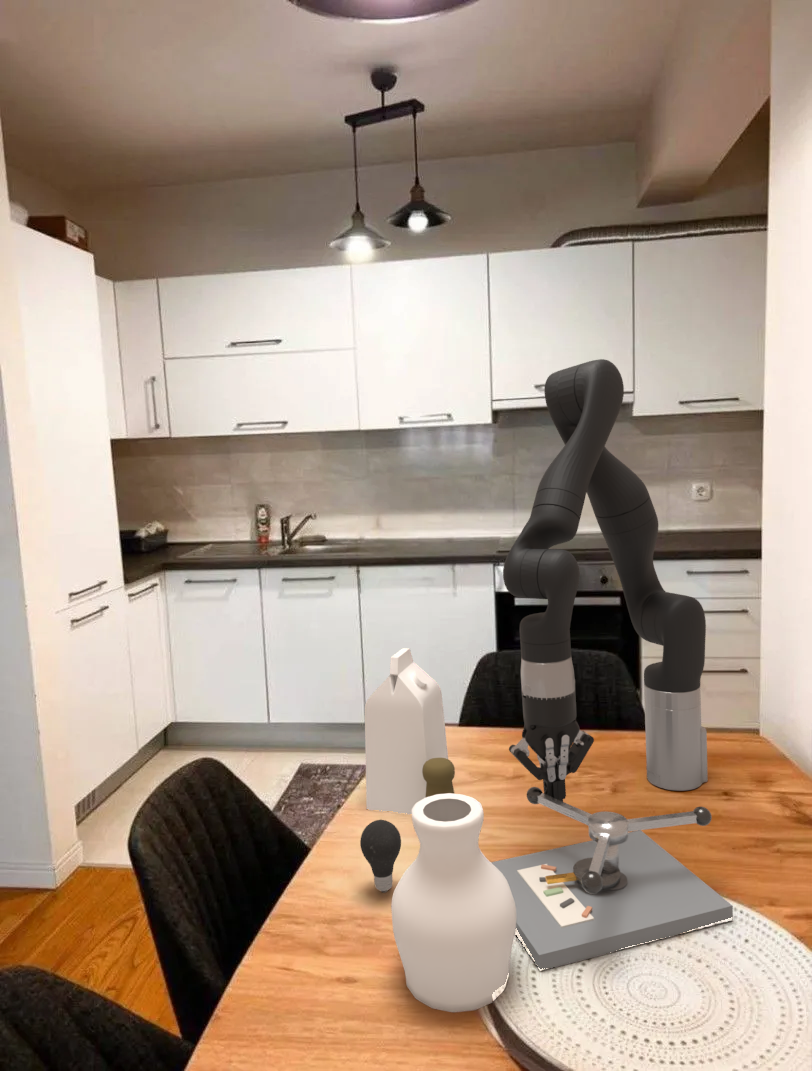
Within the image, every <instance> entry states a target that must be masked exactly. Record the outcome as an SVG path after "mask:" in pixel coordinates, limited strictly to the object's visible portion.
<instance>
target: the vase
mask: <svg viewBox="0 0 812 1071" xmlns="http://www.w3.org/2000/svg"><path fill="white" fill-rule="evenodd" d="M411 821H412V826H413V829H414V832H415V834H416V836H417V838H418V841H419V850H418V855H417V856H416V858H415V860H413V861H412V863H411V864H410V865H408V867H407V869H405V871H404V872H403V874H402V875H401V878H400V879H399V881H398V883H397V884H396V887H395V888H394V890H393V894H392V897H391V922H392V923H391V924H392V932H393V938H394V941H395V944H396V947H397V951H398V953H399V957H400V961H401V964H402V967H403V970H404V976H405V983H406V988H407V989H409V991H410V993H411V994H412V995H413V997H414V999H415V1000H418V1001H419V1002H420V1003H422V1004H424V1005H425V1006H427V1007H430V1008H431V1009H433V1010H439V1011H443V1012H449V1013H461V1012H471V1011H477V1010H478V1009H481V1008H483V1007H485V1006H488V1005H489V1004H493V1002H492V994H493V992H495V990H497V989H498V988H499V987H501V986H502V985H504V984H505V982H506V979H507V975H508V973H509V974H510V964H511V963H510V962H511V956H512V955H511V954H512V949H513V944H514V940H515V936H516V935H515V929H516V919H517V917H516V906H515V902H514V899H513V896H512V893H511V890H510V887H509V885H508V882H507V880H506V878H505V877H504V875H503V874H502V873H501V872H500V871H499V870H498V869H497V868H496V867H495V866H494V865H493V864H492V863H491V862H492V861H490V860H489V859H488V858H487V857H486V856H485V854H484V853H483V852H482V850H481V848H480V847H479V846H480V845H479V837H480V834H481V830H482V827H483V823H484V809H483V806H482V803H481V802H480V801H478V800H477V799H476V798H474V797H472V796H468V795H466V794H462V793H461V794H460V793H454V794H452V793H447V794H436V795H433V796H430V797H426V798H424V799H422V800H420V801H419V802H417V803H416V804H415V805H414V807H413V808H412V815H411Z"/></svg>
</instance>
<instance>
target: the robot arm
mask: <svg viewBox="0 0 812 1071" xmlns="http://www.w3.org/2000/svg"><path fill="white" fill-rule="evenodd" d="M622 377H623V376H622V374H621V372H620V371H619V369H618V367H617V365H615V364H614V363H613V362H612V361H610V360H608V359H604V358H603V359H602V358H600V359H595V360H593V359H592V360H590V361H586V362H581V363H580V364H576V365H573V366H570V367H566V368H563V369H560V370H557V371H555V372H552V373H551V374H549V376H548V377H547V379H546V381H545V383H544V389H543V390H544V399H545V400H544V401H545V404H546V407H547V410H548V413H549V415H550V418H551V420H552V422H553V424H554V427H555V429H556V430H557V433H558V434H559V436H560V438H561V440H562V443H564V446H563V448H561V450H560V451H559V452H558V454H557V455H556V456H555V458H554V459H553V460H552V461H551V462H550V464H549V465H548V467H547V469H546V470H545V472H544V473H543V475H542V478H541V479H540V481H539V484H538V486H537V490H536V494H535V497H534V501H533V505H532V509H531V513H530V516H529V519H528V520H527V522H526V524H524V526H523V529H522V530H521V532H520V533H519V535H518V537H517V538H516V539H515V541H514V543H513V545H512V546H511V548H510V550H509V552H508V553H507V555H506V559H505V560H504V565H503V569H502V579H503V584H504V586H505V588H506V590H507V592H508V593H509V594H511V595H513V597H515V598H516V597H517V598H519V599H521V598H522V599H533V600H536V599H538V600H547V606H546V610H545V611H544V612H538V613H532V614H529V615H526V616H524V617H523V618H522V619H521V621H520V622H519V640H520V642H519V644H520V655H521V657H520V658H521V662H520V683H521V685H520V686H521V700H522V715H523V722H524V726H523V729H522V731H521V737H522V738H521V739H520V740H519V741H518V742H517V743H516V744H510V746H509V747H508V750H509V752H510V754H512V755H513V756H514V758H515V759H517V761H518V762H519V763H520V764H521V765H522V766H523V767H524V768H525V769H526V770H527V772H529V773H530V774H531V775H533V777H535V779H537V781H542V784H543V793H544V794H546V795H548V796H551V797H553V798H555V799H558V800H560V801H562V802H564V800H565V799H566V797H567V790H566V788H567V787H566V778H567V776H568V775H569V774H575V773H576V772H577V771H578V769H579V767H580V766H581V765H582V762H583V761H584V760H585V757H586V756H587V754H588V752H589V750H590V749H591V747H592V745H593V744H594V742H595V738H594V737H593V736H592V735H591V734H589V733H587V732H586V731H584V730H581V729H580V725H579V723H578V721H577V717H578V716H577V702H576V700H577V699H576V698H577V697H576V679H575V670H574V665H573V660H572V659H573V658H572V649H571V648H572V647H571V633H570V632H571V629H570V628H571V622H572V616H573V609H574V604H575V599H576V596H577V592H578V587H579V583H580V578H581V577H580V572H581V571H580V566H579V563H578V561H577V560H576V558H575V556H574V555H573V554H572V553H571V552H570V551H568V550H565V549H561V548H560V549H557V548H555V549H554V548H552V547H555V546H557V545H561V544H564V543H568V542H570V541H571V540H573V539H574V538H575V537H576V536H577V535H576V534H577V532H578V529H579V525H580V522H581V521H580V520H581V516H582V513H583V508H584V504H585V500H586V496H587V497H588V500H589V502H590V506H591V508H592V511H593V514H594V516H595V519H596V521H597V522H596V523H597V524H598V526H599V527H598V528H599V529H600V531H601V534H602V536H603V539H604V540H605V543H606V546H607V548H608V551H609V553H610V556H611V559H612V561H613V563H614V567H615V570H616V572H617V576H618V578H619V580H620V584H621V587H622V591H623V596H624V599H625V602H626V608H627V611H628V613H629V618H630V620H631V623H632V626H633V629H634V630H635V632H636V633H637V635H638V636H639V637H640V638H641V639H643V640H645V641H647V642H648V643H652V644H655V645H659V646H663V647H662V659H661V661H658V662H654V663H650V664H649V665H647V666H646V667H645V668H644V670H643V688H644V690H643V691H644V692H643V693H644V694H643V697H644V720H645V721H644V723H645V724H644V725H645V755H646V756H645V757H646V779H647V780H648V782H649V783H650V784H652V785H653V786H655V787H657V788H661V789H665V790H669V791H678V792H680V791H682V792H683V791H691V790H695V789H697V788H699V787H700V786H701V785H702V784H703V783H707V782H708V738H707V736H708V734H707V728H706V727H704V726H702V702H701V678H702V674H703V672H704V668H705V664H706V663H705V661H706V660H705V659H706V635H707V634H706V633H707V632H706V630H707V629H706V628H707V622H706V615H705V611H704V608H703V606H702V603H701V602H700V601H699V600H698V599H697V598H695V597H692V596H690V595H684V594H679V593H674V592H669V591H666V590H665V589H664V588H663V586H662V584H661V582H660V580H659V577H658V575H657V572H656V569H655V568H656V567H655V565H654V554H655V548H656V544H657V540H658V534H659V520H658V515H657V512H656V508H655V507H654V504H653V502H652V499H651V496H650V494H649V491H648V488H647V486H646V484H645V483H644V481H643V480H642V479H641V478H640V477H639V476H638V475H637V474H636V473H635V472H634V471H633V470H632V469H631V468H629V467H628V466H627V465H626V464H625V463H624V462H622V461H621V460H620V459H618V458H617V457H616V455H614V454H613V453H612V452H610V451H609V449H608V448H607V447H606V444H607V442H608V440H609V436H610V434H611V432H612V430H613V427H614V425H615V423H616V421H617V419H618V416H619V414H620V411H621V409H622V404H623V400H624V392H625V389H624V388H625V387H624V386H625V385H624V381H623V378H622ZM551 548H552V549H551ZM528 747H530V749H531V750H532V751H533V752H534V754H536V758H537V760H538V762H539V766H537V765H536V764H535V763H534V762H533V761H532V760H531V758H530V750H529V748H528Z"/></svg>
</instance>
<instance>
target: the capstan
mask: <svg viewBox="0 0 812 1071" xmlns="http://www.w3.org/2000/svg"><path fill="white" fill-rule="evenodd" d="M526 799H527V801H528V802H529V803H531V805H538V804H540V805H542V806H544V807H547V808H548V809H551V810H553V811H554V812H557V813H559V814H561V815H564V816H566V817H568V818H570V819H573V820H575V821H578V822H580V823H582V824H584V825H586V826H588V837H589V838H590V839H591V841H592V840H593V841H595V842H597V846H596V849H595V853H594V856H593V858H585V859H582V860H579V861H578V862H576V863H575V864H574V866H573V873H565V874H558V875H550V876H545V878H546V882H547V884H553V883H561V882H569V881H576V882H577V883H578V884H579V885H581V886H582V887H583V888H584V890H585V891H587V892H588V893H591V894H595V893H598V892H599V891H600V890H609V889H612V888H614V887H616V886H617V885H618V884H619V883H620V869H619V854H618V844H622V843H624V842H625V841H627V839H628V833H629V832H633V831H638V830H641V831H643V830H644V831H645V830H652V829H653V830H654V829H660V828H667V827H675V826H682V825H683V826H684V825H691V824H696V825H698V826H700V827H706V826H708V825H709V824H710V823H711V821H712V813H711V812H710V810H709V809H708V808H707V807H704V806H697V807H695V808H694V809H693V811H692V810H691V811H685V812H675V813H674V812H673V813H667V814H659V815H653V816H643V817H636V818H635V817H634V818H626V817H625V816H624V815H623V814H620V813H618V812H613V811H597V812H594V813H590V812H588V811H585V810H582V809H580V808H578V807H576V806H574V805H571V804H569V803H566V802H565V801H563V802H562V801H560V800H558V799H555V798H553V797H551V796H548V795H546V794H544V791H543V790H542V789H541V788H539V787H538V786H531V787H530V788H529V789H528V790H527V791H526Z"/></svg>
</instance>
